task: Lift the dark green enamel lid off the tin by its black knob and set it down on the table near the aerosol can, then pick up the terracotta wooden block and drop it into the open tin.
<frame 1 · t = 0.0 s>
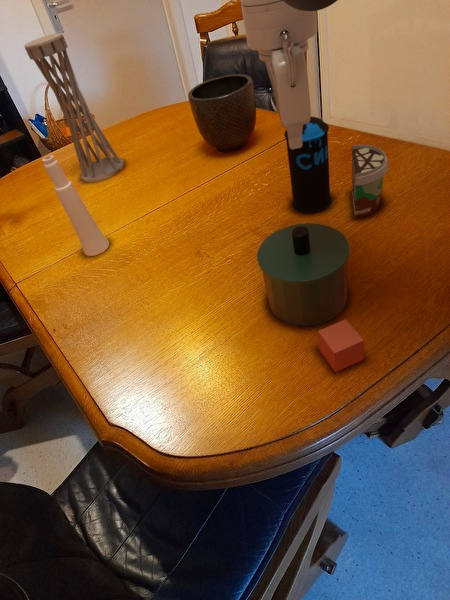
hand: (291, 132, 60), 23 cm above the table, tool pointing down, fingers open, 8 cm apart
lid: (302, 253, 61), point 9 cm above the table, touching tin
tin: (307, 297, 67), on the table
lattice tower: (103, 171, 123), on the table
aerosol can: (311, 203, 87), on the table
planter: (232, 146, 116), on the table
food container: (369, 203, 82), on the table
block: (340, 355, 58), on the table
cosmetic bottle: (97, 248, 93), on the table
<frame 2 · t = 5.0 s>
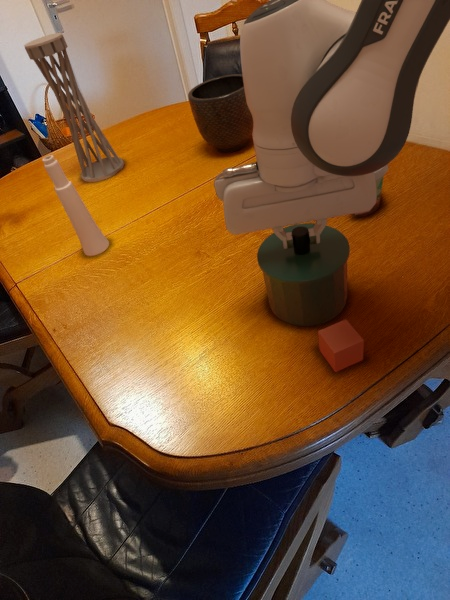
hand: (301, 243, 60), 11 cm above the table, tool pointing down, fingers closed on lid, 2 cm apart
lid: (302, 253, 61), point 10 cm above the table, touching gripper, tin
everything else where it was.
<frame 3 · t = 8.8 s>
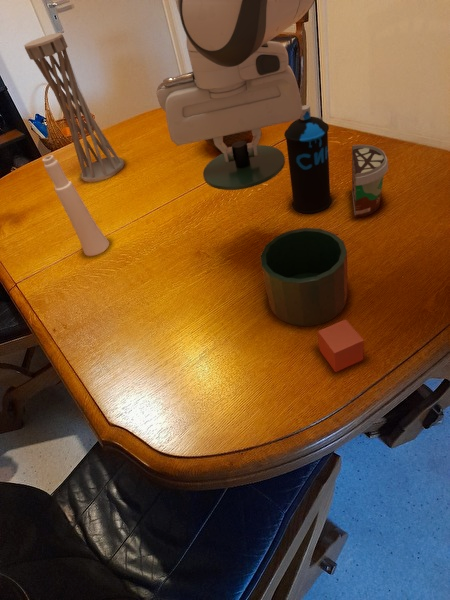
hand: (241, 157, 66), 19 cm above the table, tool pointing down, fingers closed on lid, 2 cm apart
lid: (243, 167, 67), point 17 cm above the table, touching gripper
everything else where it was.
when the fingers open (2 cm above the table, at t = 12.6 s): lid stays where it is, point 1 cm above the table.
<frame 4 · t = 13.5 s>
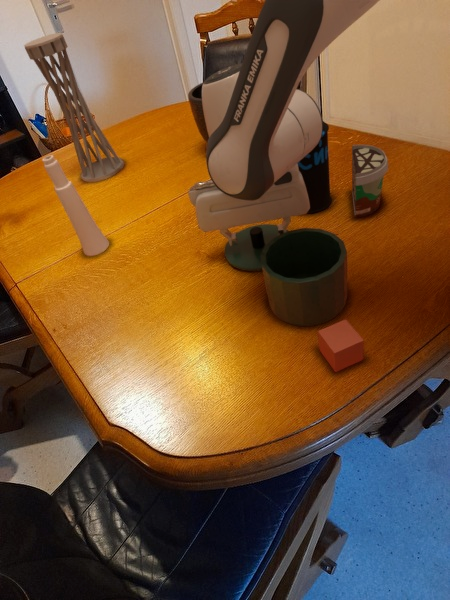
hand: (258, 239, 77), 3 cm above the table, tool pointing down, fingers open, 8 cm apart
lid: (259, 247, 79), point 1 cm above the table
everything else where it was.
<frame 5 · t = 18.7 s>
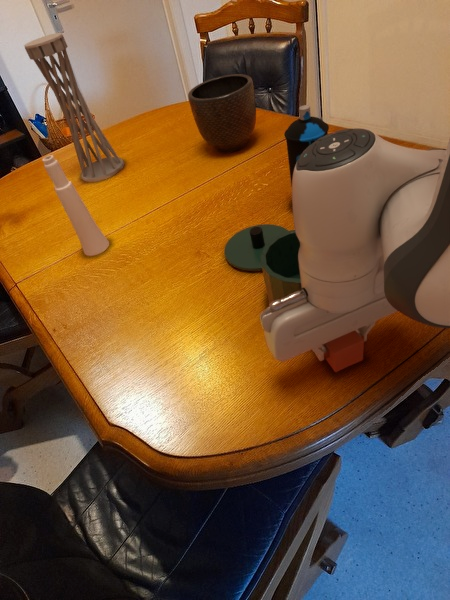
hand: (340, 347, 57), 2 cm above the table, tool pointing down, fingers closed on block, 4 cm apart
block: (340, 355, 58), on the table, touching gripper
everything else where it was.
when the fingers open (9 cm above the table, at t = 25.7 s): block drops 7 cm, resting on tin.
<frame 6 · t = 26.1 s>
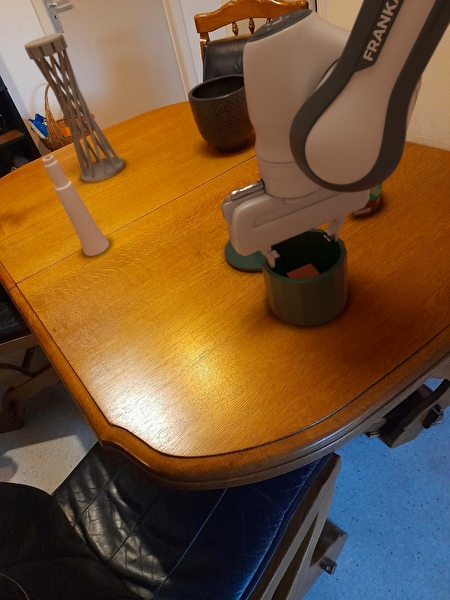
hand: (302, 252, 61), 10 cm above the table, tool pointing down, fingers open, 8 cm apart
block: (307, 295, 67), point 1 cm above the table, touching tin
everything else where it was.
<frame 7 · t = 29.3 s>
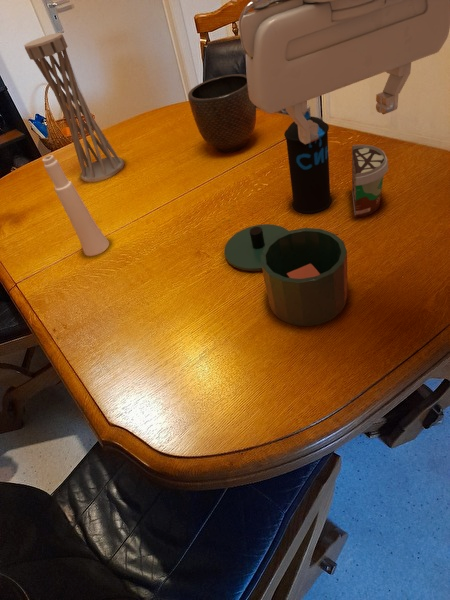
hand: (348, 125, 44), 29 cm above the table, tool pointing down, fingers open, 8 cm apart
nothing on the table moved.
at the end: lid point 0.6 cm above the table; lid 17.8 cm from the aerosol can (horizontally); block inside the target area in the tin (0.0 cm from its centre), point 0.5 cm above the tin's base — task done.
